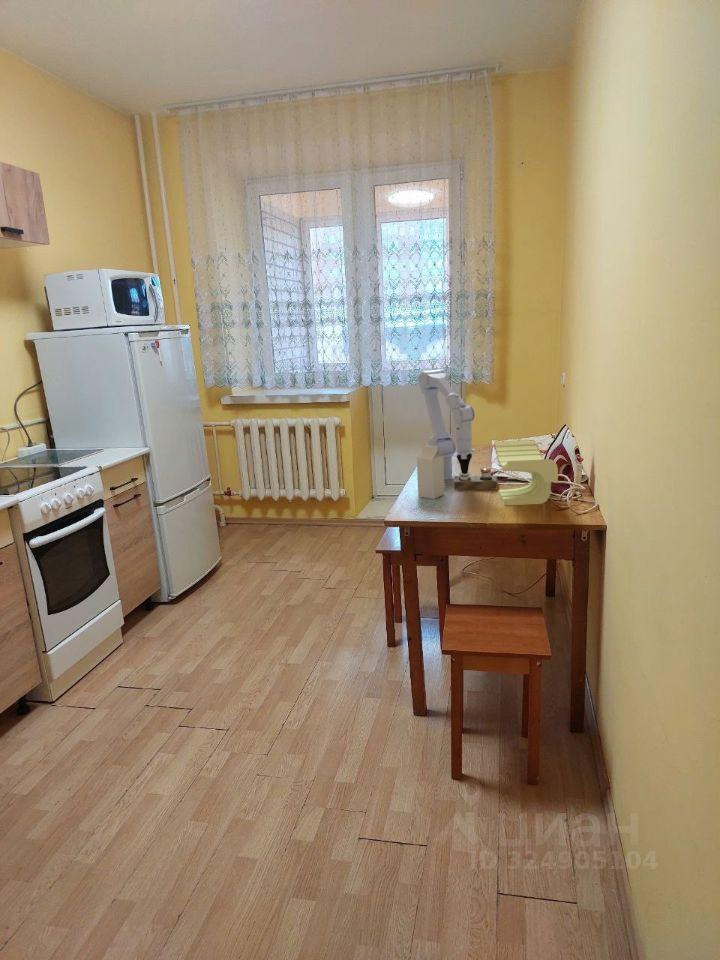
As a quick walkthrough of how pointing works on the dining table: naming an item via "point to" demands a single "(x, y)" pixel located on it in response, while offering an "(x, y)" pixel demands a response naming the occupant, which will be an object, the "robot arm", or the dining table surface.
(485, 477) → the copper push button
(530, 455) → the slatted curved stool
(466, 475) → the grey plunger
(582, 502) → the dining table surface
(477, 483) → the console
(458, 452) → the robot arm
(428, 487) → the milk carton
